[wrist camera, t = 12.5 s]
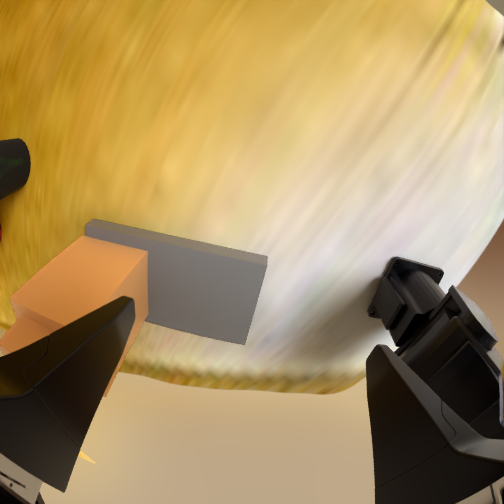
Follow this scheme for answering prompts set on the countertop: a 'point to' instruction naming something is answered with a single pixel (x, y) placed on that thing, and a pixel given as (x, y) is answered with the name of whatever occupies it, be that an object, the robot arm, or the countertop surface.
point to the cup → (13, 166)
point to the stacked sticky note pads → (79, 291)
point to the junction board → (193, 281)
